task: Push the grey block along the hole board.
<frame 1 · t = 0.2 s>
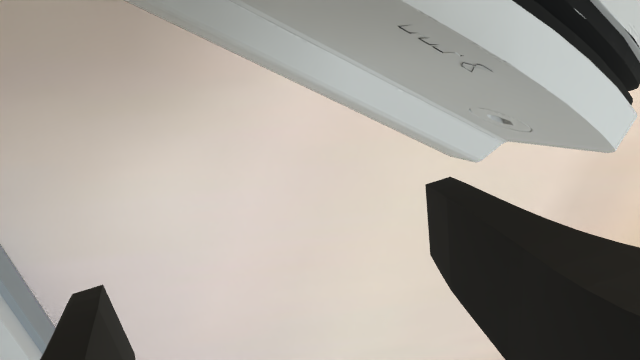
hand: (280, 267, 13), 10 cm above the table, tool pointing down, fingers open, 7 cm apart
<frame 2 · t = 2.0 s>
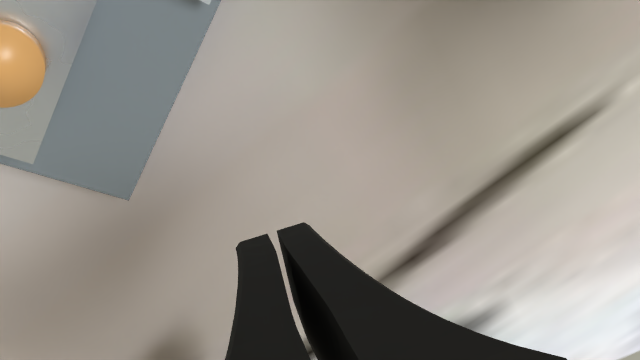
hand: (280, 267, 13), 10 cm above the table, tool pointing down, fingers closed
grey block: (7, 46, 16), point 4 cm above the table, slide at -6.0 cm
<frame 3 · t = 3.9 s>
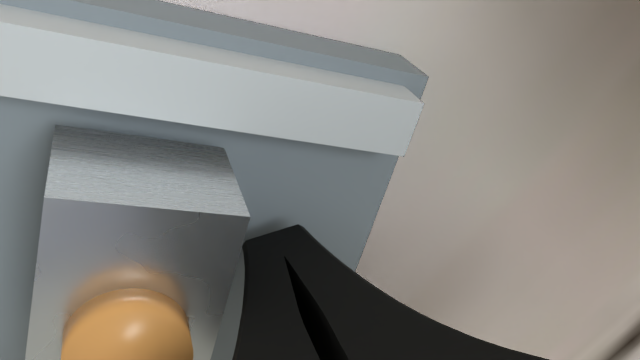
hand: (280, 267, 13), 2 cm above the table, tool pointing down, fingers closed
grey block: (125, 293, 11), point 4 cm above the table, slide at -5.3 cm, touching gripper
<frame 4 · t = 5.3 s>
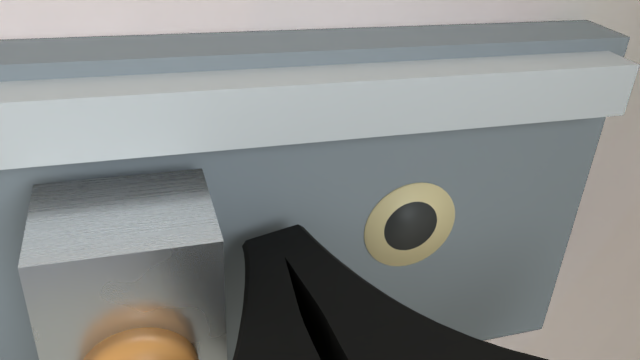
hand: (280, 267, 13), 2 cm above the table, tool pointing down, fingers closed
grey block: (137, 327, 11), point 4 cm above the table, slide at 0.5 cm, touching gripper
hole board: (153, 221, 15), on the table
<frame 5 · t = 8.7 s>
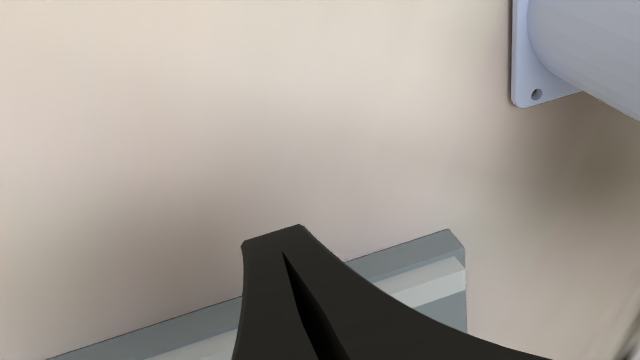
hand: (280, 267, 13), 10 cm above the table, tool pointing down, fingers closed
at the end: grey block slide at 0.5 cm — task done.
